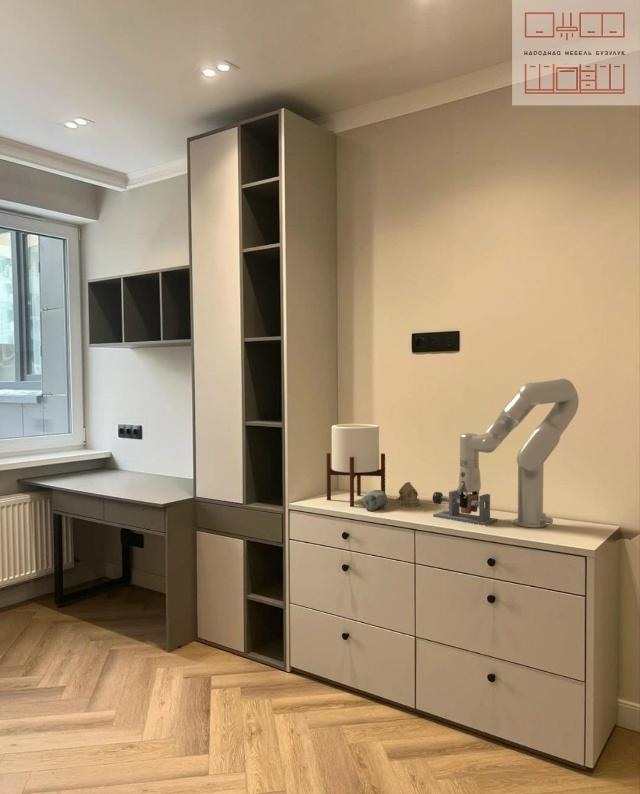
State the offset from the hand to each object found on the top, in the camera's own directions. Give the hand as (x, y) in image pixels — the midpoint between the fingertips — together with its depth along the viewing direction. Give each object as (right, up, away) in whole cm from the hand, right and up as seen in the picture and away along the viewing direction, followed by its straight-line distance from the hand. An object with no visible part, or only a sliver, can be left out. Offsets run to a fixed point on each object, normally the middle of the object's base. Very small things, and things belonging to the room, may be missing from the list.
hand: (469, 505), depth 254 cm
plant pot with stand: (-44, -5, +41) cm, 60 cm away
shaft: (-4, -1, +4) cm, 6 cm away
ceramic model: (-20, -5, +34) cm, 40 cm away
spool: (-37, -6, +22) cm, 43 cm away
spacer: (0, -3, 0) cm, 3 cm away
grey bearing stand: (-1, -6, +2) cm, 6 cm away
